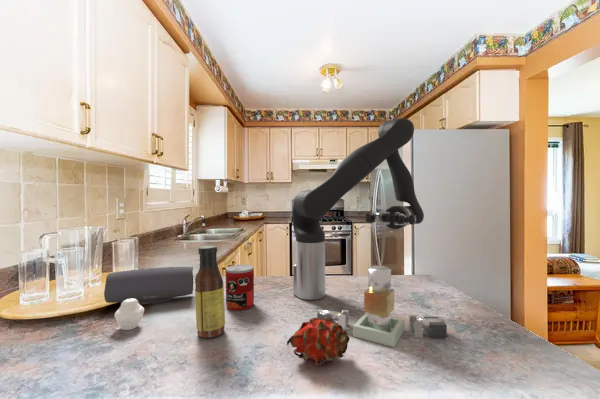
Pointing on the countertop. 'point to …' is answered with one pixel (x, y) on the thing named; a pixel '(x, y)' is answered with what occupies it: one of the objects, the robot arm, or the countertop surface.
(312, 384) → the countertop surface
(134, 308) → the muffin
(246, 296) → the canned food
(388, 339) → the mint green tray
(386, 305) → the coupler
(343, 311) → the shaft
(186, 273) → the bluetooth speaker
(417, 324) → the shaft
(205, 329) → the sauce bottle
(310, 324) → the dragon fruit
